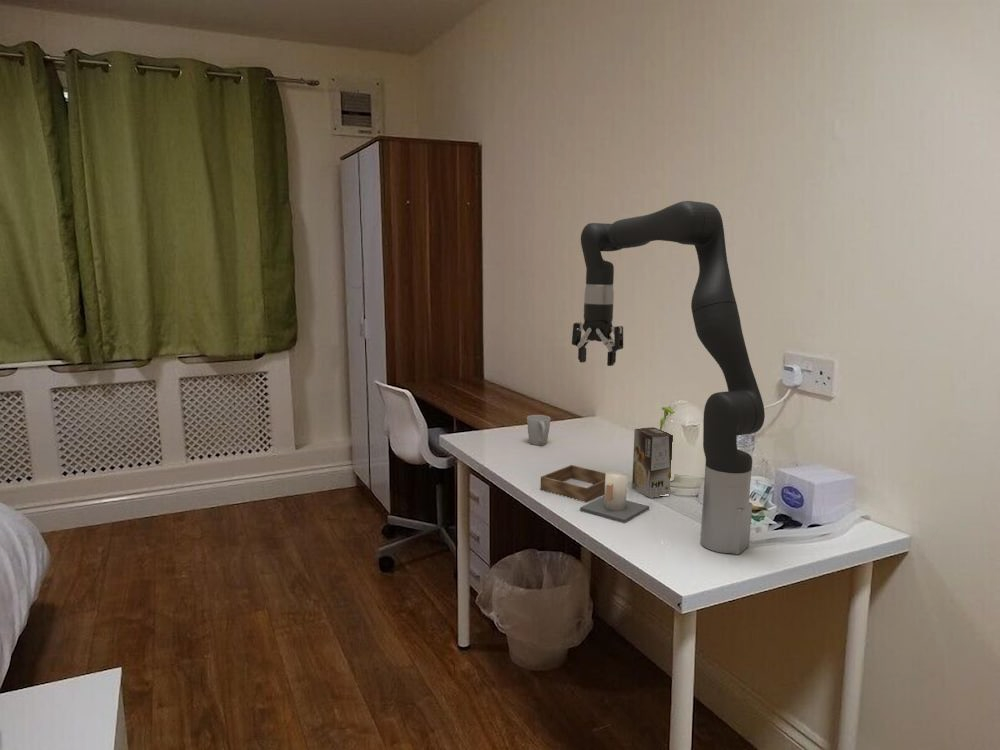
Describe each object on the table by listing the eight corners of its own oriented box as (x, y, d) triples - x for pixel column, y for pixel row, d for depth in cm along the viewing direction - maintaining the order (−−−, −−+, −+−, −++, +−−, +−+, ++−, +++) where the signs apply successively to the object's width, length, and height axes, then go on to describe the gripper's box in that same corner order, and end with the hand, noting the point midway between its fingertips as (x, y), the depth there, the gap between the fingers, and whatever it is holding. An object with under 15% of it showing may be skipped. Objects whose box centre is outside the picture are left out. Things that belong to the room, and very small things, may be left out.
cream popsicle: (610, 500, 175) (611, 469, 173) (629, 505, 172) (631, 474, 170) (597, 508, 170) (598, 476, 168) (616, 514, 167) (618, 481, 165)
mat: (649, 509, 172) (649, 506, 172) (624, 523, 163) (624, 519, 163) (606, 497, 180) (606, 494, 180) (580, 510, 171) (580, 507, 171)
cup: (545, 439, 235) (546, 414, 234) (555, 447, 226) (555, 421, 224) (523, 440, 233) (524, 415, 232) (531, 448, 224) (532, 422, 222)
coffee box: (670, 496, 182) (674, 435, 179) (649, 498, 180) (652, 436, 177) (651, 485, 191) (654, 426, 188) (630, 487, 188) (633, 428, 186)
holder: (616, 488, 187) (616, 475, 187) (586, 502, 176) (587, 488, 176) (570, 477, 196) (571, 464, 195) (540, 489, 185) (540, 476, 185)
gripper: (630, 303, 183) (627, 365, 186) (583, 299, 192) (581, 359, 195) (615, 304, 177) (612, 368, 180) (567, 301, 186) (565, 362, 189)
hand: (596, 363), depth 188 cm, fingers open, 8 cm apart
